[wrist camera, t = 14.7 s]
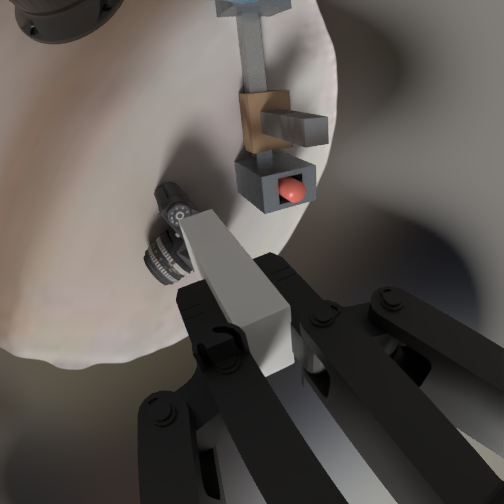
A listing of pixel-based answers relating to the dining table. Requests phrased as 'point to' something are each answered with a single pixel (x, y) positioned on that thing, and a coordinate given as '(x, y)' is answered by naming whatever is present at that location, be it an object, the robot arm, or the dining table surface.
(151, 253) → the camera
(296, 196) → the plunger
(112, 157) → the dining table surface
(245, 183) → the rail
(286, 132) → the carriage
